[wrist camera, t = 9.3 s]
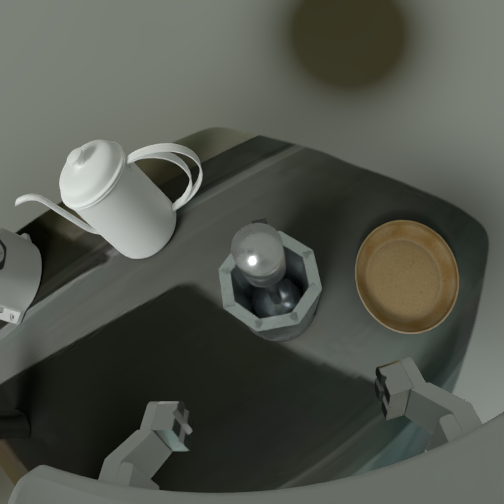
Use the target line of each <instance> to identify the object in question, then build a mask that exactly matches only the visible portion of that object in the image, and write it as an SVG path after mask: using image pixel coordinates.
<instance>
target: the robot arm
mask: <svg viewBox="0 0 504 504" xmlns="http://www.w3.org/2000/svg"><path fill="white" fill-rule="evenodd" d="M41 271H42V261H41V255H40V252H39V250H38V248H37V247H36V246H35V245H34V244H33V243H32V242H31V239H30V236H29V235H28V234H26V233H24V234H22V235H21V236H20V235H17V234H15V233H13V232H11V231H9V230H7V229H5V228H2V227H0V320H3V321H7V322H10V323H14V324H17V325H19V324H20V323H21V321H22V319H23V316H24V313H25V311H26V309H27V308H28V307H29V305H30V304H31V302H32V301H33V299H34V297H35V295H36V292H37V290H38V287H39V283H40V279H41ZM376 376H377V379H376V380H375V391H376V395H377V398H378V400H379V401H380V402H382V408H381V409H382V411H383V414H384V416H385V419H386V420H388V419H392V418H395V417H398V416H401V415H404V414H405V416H406V417H407V418H409V419H410V420H412V421H413V422H414V423H416V424H417V425H418V426H420V427H421V428H423V429H424V430H425V431H427V432H428V433H430V434H431V435H432V437H431V439H430V441H429V443H428V445H427V447H426V450H427V452H424V453H422V454H419V455H417V456H414V457H412V458H409V459H406V460H404V461H401V462H398V463H395V464H392V465H389V466H386V467H383V468H379V469H376V470H373V471H369V472H366V473H362V474H358V475H355V476H351V477H347V478H342V479H338V480H333V481H329V482H324V483H318V484H313V485H307V486H301V487H294V488H286V489H278V490H268V491H256V492H238V493H193V492H176V491H164V490H159V486H158V485H157V484H156V483H155V482H153V481H152V480H151V478H152V477H153V475H154V474H155V473H156V472H157V470H158V469H159V468H160V467H161V465H162V464H163V463H164V462H165V460H166V459H167V458H168V457H169V455H170V454H171V453H172V451H189V449H190V443H191V438H190V436H189V434H190V433H191V432H192V431H193V419H192V416H191V414H190V412H189V411H187V410H185V405H184V403H183V402H182V401H172V402H149V403H148V405H147V408H146V411H145V414H144V417H143V421H142V424H141V427H140V430H136V431H135V432H134V433H133V434H132V435H131V436H130V437H129V438H128V439H127V440H125V441H124V442H123V443H122V444H121V445H120V446H119V447H118V448H117V449H115V450H114V451H113V452H112V453H111V454H110V455H109V456H108V457H106V458H105V460H104V463H103V466H102V469H101V473H100V476H99V479H98V480H96V479H91V478H87V477H83V476H80V475H76V474H72V473H69V472H65V471H62V470H59V469H56V468H53V467H50V466H46V465H40V466H38V467H36V468H35V469H33V470H32V471H30V472H29V473H27V474H26V475H24V476H23V477H22V478H21V479H20V480H19V481H18V483H17V485H16V486H15V488H14V490H13V492H12V494H11V497H10V499H9V501H8V504H504V412H503V413H501V414H499V415H498V416H496V417H494V418H493V419H491V420H490V421H488V422H486V423H484V424H482V423H481V421H480V419H479V417H478V416H477V414H476V412H475V410H474V408H473V406H472V405H471V403H469V402H467V401H465V400H463V399H461V398H459V397H457V396H455V395H453V394H451V393H449V392H447V391H445V390H443V389H441V388H439V387H437V386H435V385H433V384H431V383H426V382H425V381H424V379H423V377H422V375H421V373H420V372H419V370H418V368H417V366H416V364H415V363H414V361H413V359H412V358H411V357H408V358H405V359H402V360H399V361H395V362H392V363H389V364H386V365H383V366H379V367H377V368H376Z"/></svg>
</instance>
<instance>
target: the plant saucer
mask: <svg viewBox="0 0 504 504" xmlns="http://www.w3.org/2000/svg"><path fill="white" fill-rule="evenodd" d="M355 280H356V286H357V290H358V293H359V296H360V298H361V300H362V302H363V304H364V306H365V307H366V309H367V310H368V312H369V313H370V314H371V315H372V316H373V317H374V318H375V319H376V320H377V321H378V322H379V323H381V324H382V325H384V326H385V327H387V328H389V329H391V330H393V331H396V332H399V333H405V334H417V333H423V332H426V331H429V330H431V329H433V328H435V327H436V326H438V325H439V324H440V323H442V322H443V321H444V320H445V319H446V317H447V316H448V315H449V313H450V312H451V310H452V309H453V307H454V304H455V302H456V299H457V295H458V289H459V273H458V267H457V263H456V260H455V257H454V255H453V253H452V251H451V249H450V247H449V246H448V244H447V243H446V242H445V241H444V239H443V238H442V237H441V236H440V235H439V234H438V233H436V232H435V231H434V230H432V229H431V228H429V227H428V226H426V225H423V224H421V223H418V222H415V221H409V220H396V221H390V222H387V223H385V224H383V225H381V226H379V227H377V228H376V229H374V230H373V231H372V232H371V233H370V234H369V235H368V236H367V237H366V239H365V240H364V241H363V243H362V245H361V247H360V249H359V252H358V255H357V258H356V263H355Z"/></svg>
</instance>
